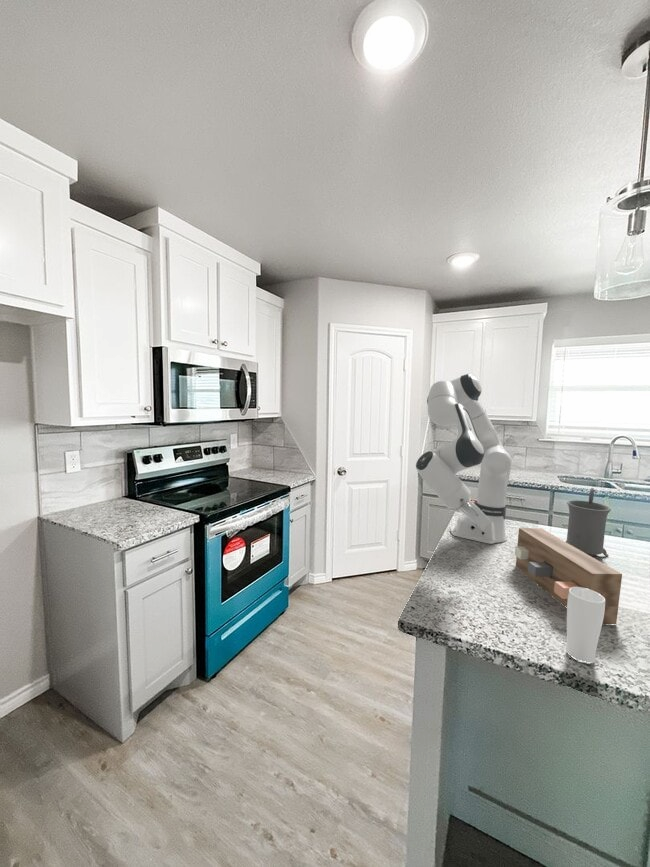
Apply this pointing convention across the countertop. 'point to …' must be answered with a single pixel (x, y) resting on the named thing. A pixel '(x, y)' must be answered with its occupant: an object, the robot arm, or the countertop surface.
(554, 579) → the console
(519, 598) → the countertop surface
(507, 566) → the countertop surface
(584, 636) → the drinking glass
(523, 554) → the cream key
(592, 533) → the grey footed pot
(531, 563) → the charcoal key
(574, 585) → the terracotta key
